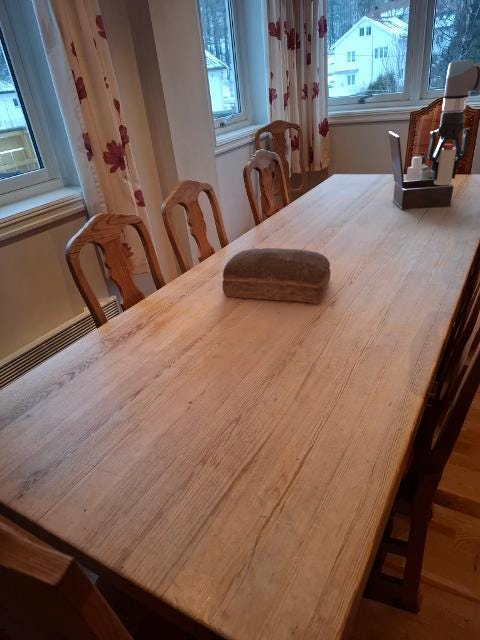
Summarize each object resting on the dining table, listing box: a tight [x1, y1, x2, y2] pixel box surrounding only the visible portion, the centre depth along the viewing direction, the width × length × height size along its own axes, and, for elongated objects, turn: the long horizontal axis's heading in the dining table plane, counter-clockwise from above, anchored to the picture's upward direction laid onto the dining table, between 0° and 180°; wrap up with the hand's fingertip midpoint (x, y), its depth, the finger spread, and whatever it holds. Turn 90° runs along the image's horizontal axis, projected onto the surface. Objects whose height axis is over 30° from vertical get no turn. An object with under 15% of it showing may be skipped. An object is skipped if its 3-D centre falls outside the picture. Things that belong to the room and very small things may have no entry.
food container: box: [420, 166, 433, 180], centre depth 195 cm, size 12×6×10 cm, turn 168°
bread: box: [222, 247, 331, 304], centre depth 123 cm, size 17×29×11 cm, turn 70°
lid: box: [388, 131, 405, 189], centre depth 175 cm, size 20×14×1 cm
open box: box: [392, 179, 454, 211], centre depth 181 cm, size 20×14×8 cm
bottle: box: [434, 143, 457, 185], centre depth 160 cm, size 6×6×14 cm
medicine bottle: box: [405, 155, 429, 181], centre depth 212 cm, size 7×7×12 cm
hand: (443, 178), depth 163 cm, fingers closed on bottle, 6 cm apart
